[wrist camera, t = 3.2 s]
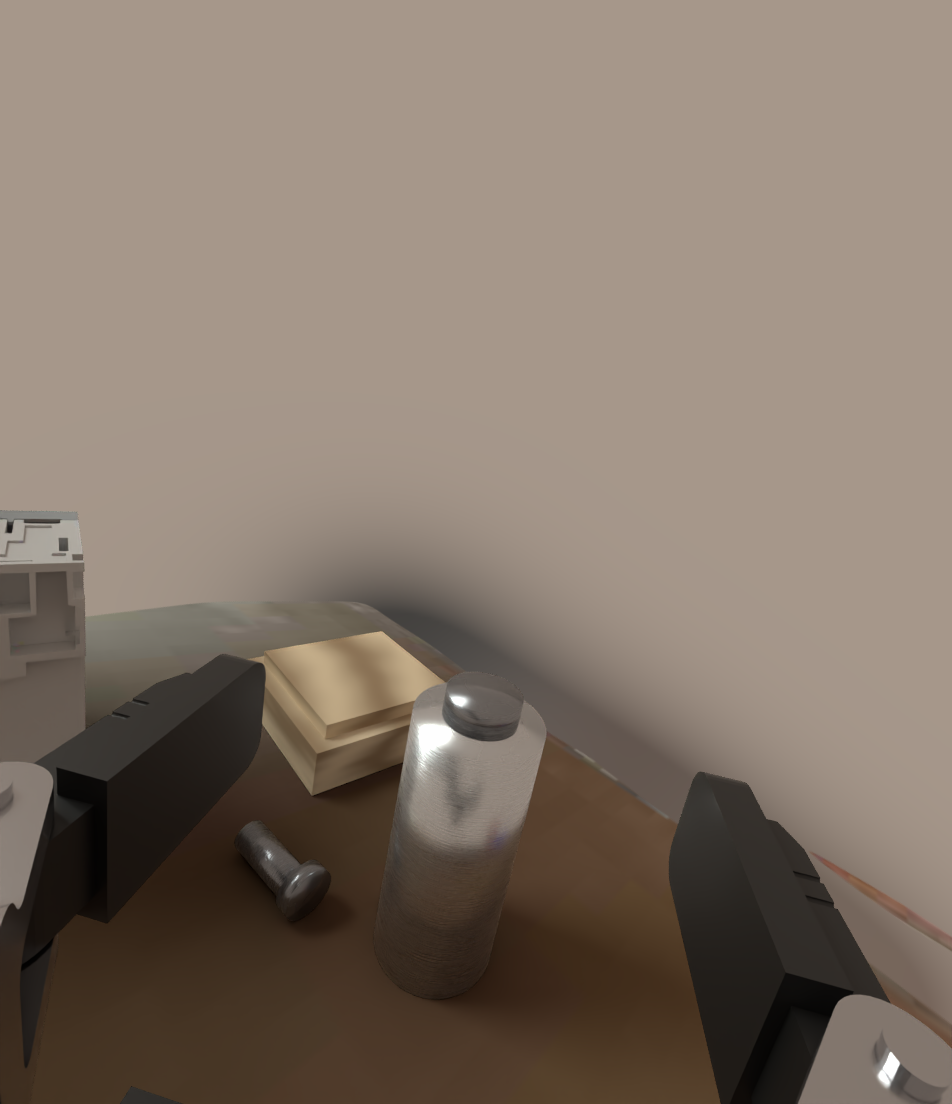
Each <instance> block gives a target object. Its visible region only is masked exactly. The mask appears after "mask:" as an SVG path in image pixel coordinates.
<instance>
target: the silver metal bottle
mask: <svg viewBox="0 0 952 1104" xmlns="http://www.w3.org/2000/svg"><path fill="white" fill-rule="evenodd" d="M545 739H546V726H545V723H544V721H543V719H542V718H541V716H540V715H539V713H538V712H537V711H536V710H535V709H534V708H533V707H532V706H531V705H530V704H528V703H527V702H526V701H524V697H523V694H522V693H521V691H520V690H519V689H518V688H517V687H516V686H515V685H514V684H512V683H511V682H509V681H507V680H506V679H504V678H501V677H499V676H496V675H493V674H489V673H483V672H464V673H460V674H457V675H455V676H453V677H452V678H450V679H449V681H448V682H447V683H442V684H438V685H435V686H432V687H430V688H428V689H426V690H425V691H423V692H422V693H421V694H420V695H419V696H418V697H417V699H416V700H415V702H414V705H413V710H412V716H411V722H410V727H409V733H408V739H407V745H406V750H405V756H404V762H403V767H402V773H401V779H400V785H399V790H398V796H397V802H396V807H395V813H394V819H393V825H392V830H391V836H390V842H389V847H388V853H387V859H386V865H385V870H384V876H383V882H382V887H381V893H380V899H379V905H378V910H377V916H376V922H375V927H374V938H373V939H374V948H375V953H376V956H377V959H378V961H379V963H380V965H381V967H382V969H383V970H384V972H385V973H386V975H387V976H388V977H389V978H390V979H391V980H392V981H393V982H394V983H395V984H396V985H397V986H399V987H400V988H401V989H403V990H405V991H406V992H408V993H410V994H413V995H415V996H418V997H422V998H427V999H445V998H451V997H454V996H457V995H459V994H461V993H464V992H465V991H467V990H468V989H470V988H471V987H472V986H473V985H474V984H476V983H477V981H478V980H479V979H480V978H481V977H482V975H483V973H484V972H485V970H486V967H487V965H488V963H489V959H490V955H491V951H492V947H493V943H494V939H495V935H496V931H497V927H498V923H499V919H500V916H501V912H502V908H503V904H504V900H505V896H506V892H507V888H508V884H509V880H510V876H511V872H512V869H513V865H514V861H515V857H516V853H517V849H518V845H519V841H520V837H521V833H522V829H523V825H524V822H525V818H526V814H527V810H528V806H529V802H530V798H531V794H532V790H533V786H534V782H535V778H536V775H537V771H538V767H539V763H540V759H541V755H542V751H543V747H544V743H545Z"/></svg>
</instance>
